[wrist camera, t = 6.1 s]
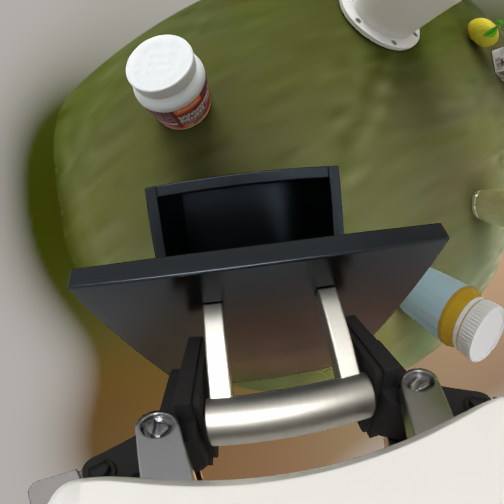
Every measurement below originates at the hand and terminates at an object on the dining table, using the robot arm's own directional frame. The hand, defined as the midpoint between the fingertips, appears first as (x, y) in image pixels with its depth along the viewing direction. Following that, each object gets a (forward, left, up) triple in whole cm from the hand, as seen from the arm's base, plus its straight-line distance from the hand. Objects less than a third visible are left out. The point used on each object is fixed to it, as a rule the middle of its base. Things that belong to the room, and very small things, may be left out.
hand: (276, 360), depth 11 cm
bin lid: (+1, 0, -4) cm, 4 cm away
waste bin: (0, 0, -20) cm, 20 cm away
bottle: (+8, +22, -21) cm, 31 cm away
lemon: (-34, +44, -21) cm, 59 cm away
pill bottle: (-17, -5, -21) cm, 27 cm away
